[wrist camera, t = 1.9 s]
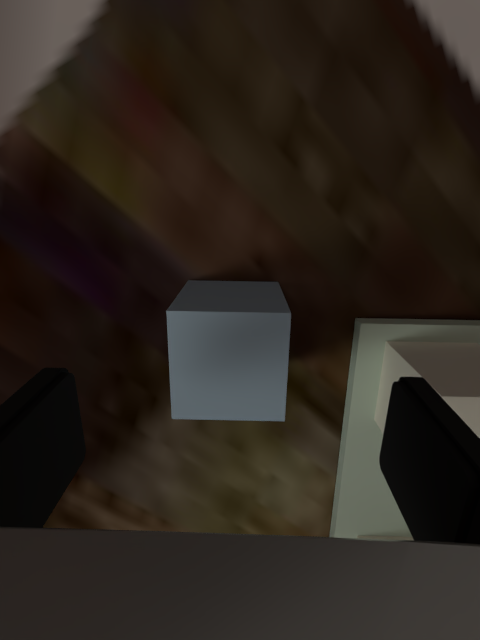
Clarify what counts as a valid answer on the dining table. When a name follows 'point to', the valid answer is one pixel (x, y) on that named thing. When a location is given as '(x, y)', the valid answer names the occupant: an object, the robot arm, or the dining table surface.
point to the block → (229, 351)
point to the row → (372, 405)
